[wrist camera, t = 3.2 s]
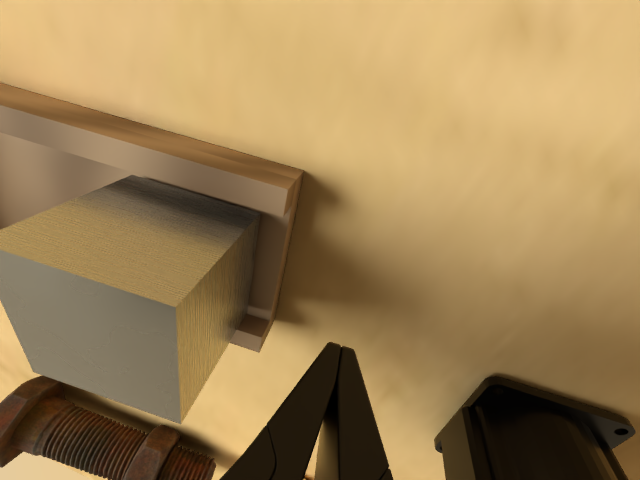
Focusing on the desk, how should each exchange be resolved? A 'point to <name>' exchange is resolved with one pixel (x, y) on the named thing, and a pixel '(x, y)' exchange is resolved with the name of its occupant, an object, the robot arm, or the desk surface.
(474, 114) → the desk surface
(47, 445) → the bolt
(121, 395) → the block
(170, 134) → the track
